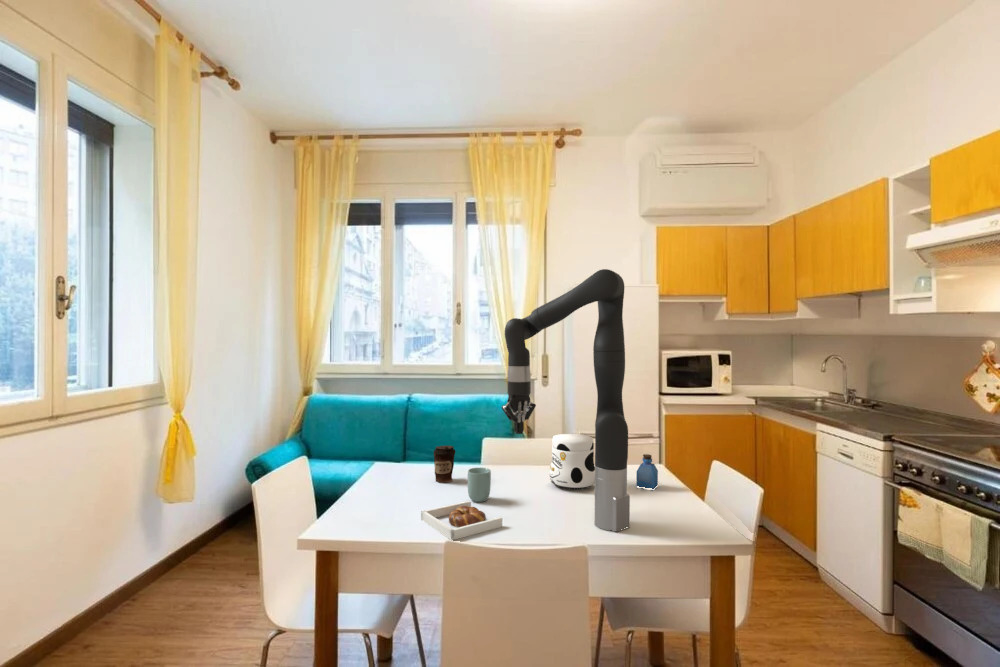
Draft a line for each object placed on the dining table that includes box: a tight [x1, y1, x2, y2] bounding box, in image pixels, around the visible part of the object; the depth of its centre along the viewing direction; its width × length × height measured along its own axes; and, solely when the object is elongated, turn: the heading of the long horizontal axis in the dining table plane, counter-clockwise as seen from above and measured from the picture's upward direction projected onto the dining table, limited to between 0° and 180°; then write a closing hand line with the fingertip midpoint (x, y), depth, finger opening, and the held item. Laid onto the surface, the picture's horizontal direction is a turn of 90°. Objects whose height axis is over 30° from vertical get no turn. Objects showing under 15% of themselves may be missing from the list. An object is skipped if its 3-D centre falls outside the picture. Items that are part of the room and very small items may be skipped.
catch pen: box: [420, 500, 503, 541], centre depth 138 cm, size 18×17×2 cm
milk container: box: [548, 433, 595, 491], centre depth 176 cm, size 17×17×18 cm
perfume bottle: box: [635, 453, 659, 489], centre depth 175 cm, size 6×6×12 cm
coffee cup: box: [433, 445, 456, 483], centre depth 180 cm, size 9×8×13 cm
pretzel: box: [448, 506, 487, 528], centre depth 139 cm, size 12×11×4 cm
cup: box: [467, 467, 492, 503], centre depth 158 cm, size 8×8×10 cm
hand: (519, 433), depth 152 cm, fingers closed
